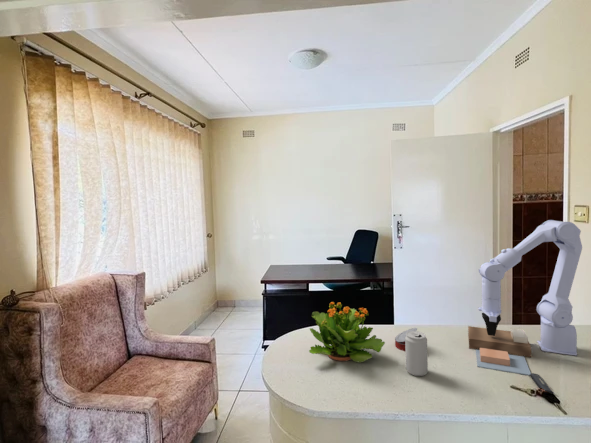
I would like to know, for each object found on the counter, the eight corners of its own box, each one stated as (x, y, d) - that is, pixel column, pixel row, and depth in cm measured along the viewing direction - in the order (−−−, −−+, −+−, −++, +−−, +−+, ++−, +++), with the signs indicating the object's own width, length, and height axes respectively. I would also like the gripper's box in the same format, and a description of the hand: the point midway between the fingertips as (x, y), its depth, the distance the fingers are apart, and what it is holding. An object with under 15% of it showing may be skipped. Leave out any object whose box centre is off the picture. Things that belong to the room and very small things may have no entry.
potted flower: (324, 380, 100) (322, 324, 99) (292, 348, 121) (290, 302, 120) (389, 360, 110) (388, 309, 109) (350, 334, 132) (348, 292, 130)
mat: (524, 357, 108) (524, 356, 108) (531, 375, 97) (531, 374, 97) (475, 350, 114) (475, 349, 114) (477, 366, 104) (477, 366, 104)
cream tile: (524, 335, 117) (524, 329, 117) (527, 343, 110) (527, 337, 110) (510, 333, 118) (510, 328, 118) (513, 341, 112) (513, 336, 112)
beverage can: (417, 379, 98) (416, 340, 97) (401, 370, 104) (400, 333, 103) (432, 373, 101) (431, 335, 100) (415, 364, 107) (415, 328, 106)
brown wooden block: (524, 342, 119) (524, 332, 119) (531, 357, 108) (531, 347, 108) (468, 335, 127) (468, 326, 127) (469, 348, 116) (469, 338, 116)
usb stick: (554, 397, 88) (554, 391, 88) (542, 395, 89) (542, 390, 88) (539, 378, 97) (539, 373, 97) (528, 377, 98) (528, 372, 98)
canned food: (411, 363, 116) (405, 346, 112) (392, 351, 123) (386, 334, 120) (429, 345, 119) (423, 327, 116) (409, 334, 127) (403, 317, 123)
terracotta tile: (510, 360, 103) (509, 366, 103) (507, 351, 108) (507, 357, 108) (480, 355, 106) (480, 361, 106) (479, 347, 112) (479, 353, 112)
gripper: (477, 290, 124) (477, 325, 125) (479, 302, 111) (479, 341, 112) (499, 292, 120) (499, 328, 121) (504, 304, 108) (503, 344, 108)
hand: (491, 334), depth 116 cm, fingers closed
